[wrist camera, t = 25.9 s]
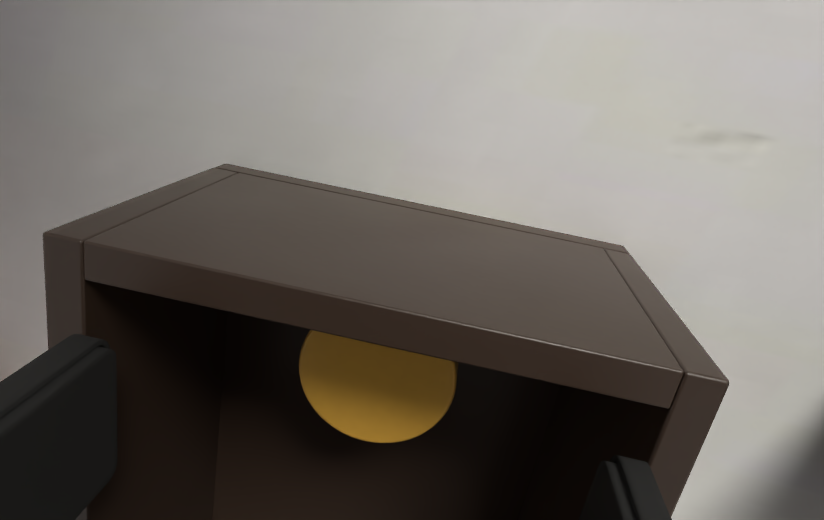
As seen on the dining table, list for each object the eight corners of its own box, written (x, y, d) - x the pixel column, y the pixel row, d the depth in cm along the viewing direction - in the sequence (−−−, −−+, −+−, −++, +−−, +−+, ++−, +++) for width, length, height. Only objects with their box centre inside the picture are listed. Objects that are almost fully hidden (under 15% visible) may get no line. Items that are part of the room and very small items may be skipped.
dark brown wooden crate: (224, 162, 18) (41, 231, 10) (624, 245, 17) (731, 382, 10) (201, 518, 23) (66, 735, 15) (509, 592, 22) (523, 856, 15)
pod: (359, 231, 17) (324, 278, 13) (482, 279, 17) (482, 340, 13) (320, 340, 18) (279, 411, 15) (434, 384, 18) (422, 466, 15)
